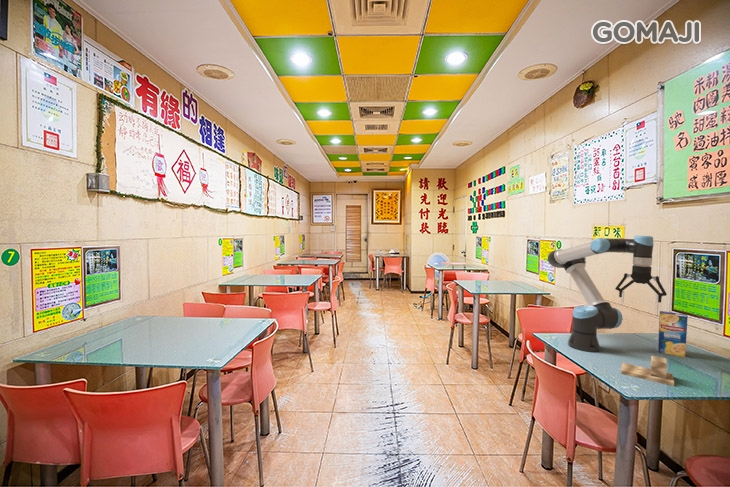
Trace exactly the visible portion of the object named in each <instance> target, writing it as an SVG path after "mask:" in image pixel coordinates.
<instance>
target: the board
mask: <svg viewBox="0 0 730 487" xmlns="http://www.w3.org/2000/svg"><path fill="white" fill-rule="evenodd" d="M620 370H621V371H620V373H621V375H626V376H630V377H634V378H637V379H638V378H639V379H643V380H647V381H651V382H656V383H660V384H664V385H667V386H672V387H674V386H675V379H674V376H673V373H671V372H667V371H666V379H663V378H659V377H654V376H651V368H648V367H644V366H639V365H634V364H630V363H627V362H626V363H625V362H622V363H621V369H620Z"/></svg>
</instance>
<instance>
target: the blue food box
mask: <svg viewBox="0 0 730 487" xmlns="http://www.w3.org/2000/svg"><path fill="white" fill-rule="evenodd" d="M658 318H659V320H658V321H659V322H658V339H657V352H658V353H662V354H667V355H671V356H672V355H673V356H677V357H682V358H683V357H684V358H686V349H687V332H688V331H687V330H688V314H686V313H680V312H679V313H678V312H671V311H664V310H659V317H658Z"/></svg>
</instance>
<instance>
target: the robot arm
mask: <svg viewBox="0 0 730 487" xmlns="http://www.w3.org/2000/svg"><path fill="white" fill-rule="evenodd" d="M653 250H654V237H653V236H651V235H635V236H634V238H621V237H618V238H608V237H607V238H605V237H599V238H594V239H593V240H592V241H588V242H585V243H583V244H580V245H575V246H571V247H568V248H565V249H561V248H559V249H555V250H552V251H551V252H549V253H548V256H547V262H548V264H549V265H550V266H552V267H554V268H558V269H561V268H562V269H564V270H565V273H567V274H570V276H571V278H572V280H573V281H574V282H575V284H576V286H577V287H578V289H579V291H580V293H581V295H582V297H583V298H584V300H585V302H586V304H587V305H586V304H585V305H576V306H574V307H573V310H572V311H573V312H572V327H571V328H572V329H571V333H570V336H569V338H568V340H567V341H568V342H567V344H568V345H567V346H569V347H570V348H573V349H575V350H579V351H583V352H591V353H597V352H599V351H600V349H601V346H600V343H599V339H598V337H597V336H598V335H597V333H598V332H597V331H598V330H613V329H617V328H619V327H620V326H621V325H622V323H623V320H624V319H623V314H622V312H621V311H620V310H619V309H618V308H615V307H613V306H612V305H611V303H610V302H609V301H606V300H605V299H604V298H603V296H602V294H601V292H600V291H599V290H598V288H597V287H596V284H595V283H594V281H593V280H592V277H590V275H589V273H588V271H587V270H586V269H585V268H586V263H587V261H586V260H587V258H588V257H592V256H595V255H600V254H604V253H625V254H627V253H628V254H632V266H631V267H632V268H631V274H629V273H624V274H623V278H621V280H620V282H619V283H618V284H617V285H616V287H615V290H616V291H618V297H619V298H621V301H620V302H621V303H620V304H621V305H624V300H625V291H624V290H626V289H627V288H628V287H630V286H631V285H632V284H634V283H636V284H642V285H648V286H649V287H650V288H651V290H653V291H654V293H655V294H657V295H656V299H655V310H658V305H659V303H662V299H663V298H662V297H664V296H665V297H667V295H668V294H667V292H666V290H665V288H664V287H663V284H662V283H661V282H660V277H659V276H658V275H657V276H652V264H653ZM629 278H631V280H630V281H629V282H628V283H626V284H625V285H623V283H624V282H625V281H626V280H627V279H629ZM652 279H653V281H655V282H656V284H657V285H658V288H659V289H660V290H658V288H656V287H655V286H654V285H653V283H652V282H651V280H652ZM622 285H623V287H621V286H622ZM660 291H661V292H660Z"/></svg>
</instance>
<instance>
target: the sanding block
mask: <svg viewBox="0 0 730 487" xmlns="http://www.w3.org/2000/svg"><path fill="white" fill-rule="evenodd" d="M667 367H668V362H667V358H665V357H660V356H655V355H651V358H650V369H651V376H654V377H659V378H663V379H666V372H667V369H668V368H667Z"/></svg>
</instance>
